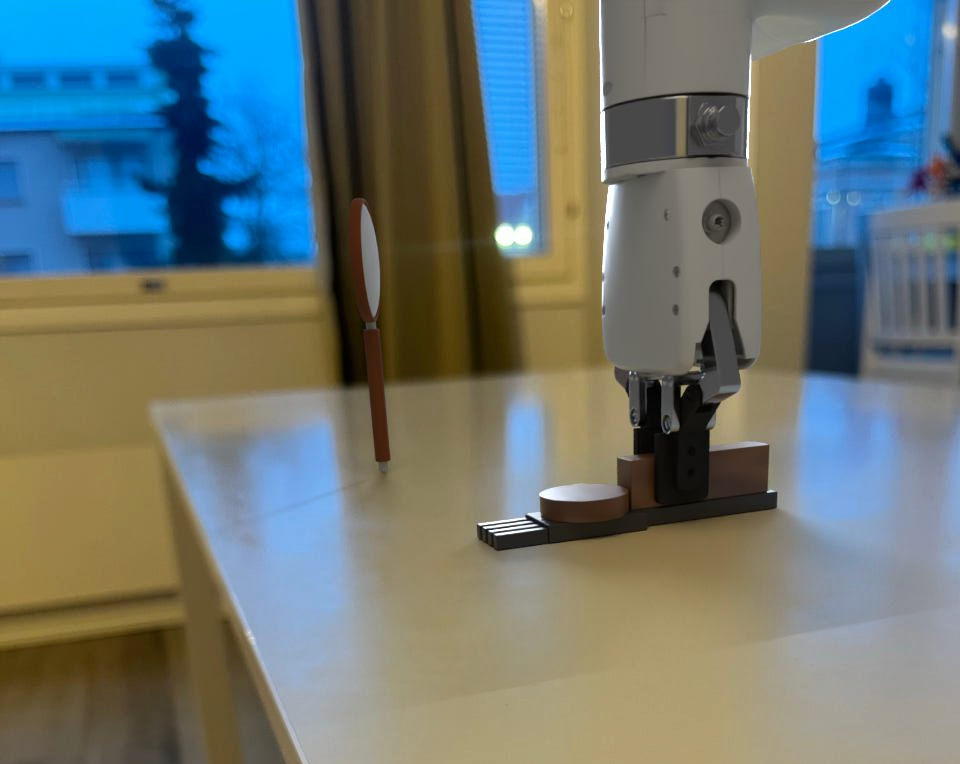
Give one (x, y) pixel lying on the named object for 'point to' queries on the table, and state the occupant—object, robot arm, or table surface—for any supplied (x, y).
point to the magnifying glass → (369, 318)
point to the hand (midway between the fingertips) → (670, 495)
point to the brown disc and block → (584, 503)
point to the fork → (615, 521)
